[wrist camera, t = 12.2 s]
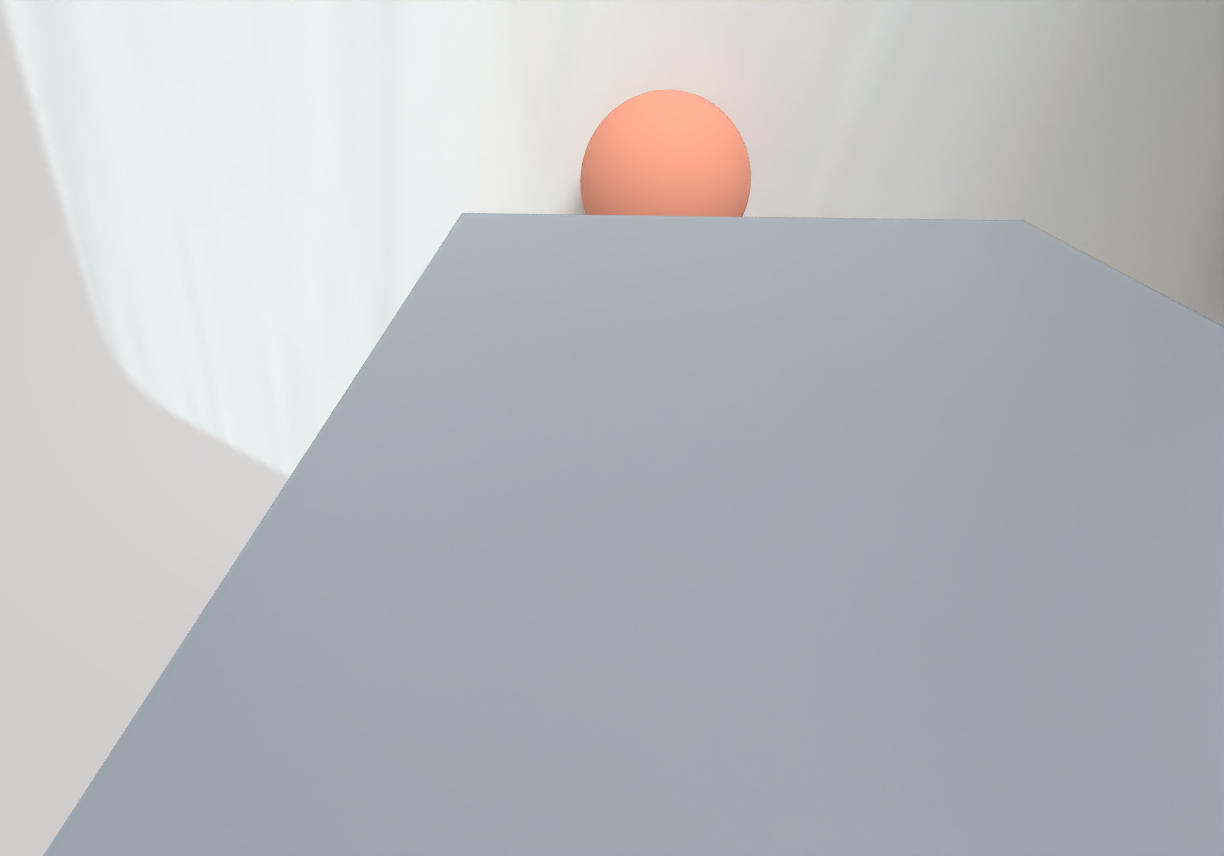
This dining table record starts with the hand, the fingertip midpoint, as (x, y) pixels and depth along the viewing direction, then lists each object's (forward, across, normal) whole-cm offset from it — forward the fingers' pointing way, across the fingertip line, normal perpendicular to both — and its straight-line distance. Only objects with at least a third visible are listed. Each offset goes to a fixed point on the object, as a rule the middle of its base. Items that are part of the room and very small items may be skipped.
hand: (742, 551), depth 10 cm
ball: (+14, 0, -2) cm, 15 cm away
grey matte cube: (+2, 0, 0) cm, 2 cm away
